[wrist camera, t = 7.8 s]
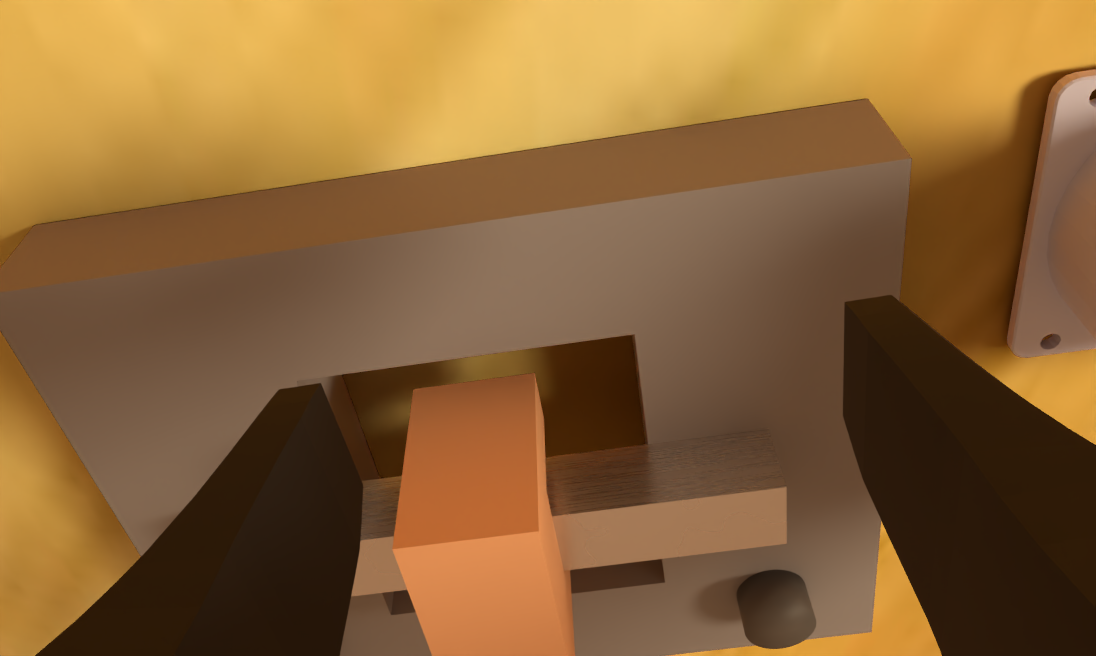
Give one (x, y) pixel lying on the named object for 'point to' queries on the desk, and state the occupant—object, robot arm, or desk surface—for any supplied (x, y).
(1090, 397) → the desk surface
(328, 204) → the grey slotted tray
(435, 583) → the orange rectangular block
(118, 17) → the desk surface
